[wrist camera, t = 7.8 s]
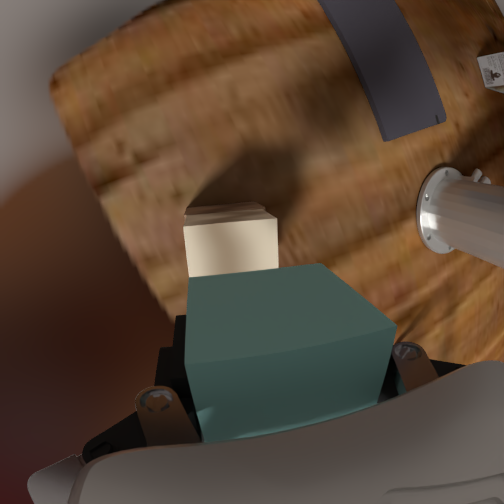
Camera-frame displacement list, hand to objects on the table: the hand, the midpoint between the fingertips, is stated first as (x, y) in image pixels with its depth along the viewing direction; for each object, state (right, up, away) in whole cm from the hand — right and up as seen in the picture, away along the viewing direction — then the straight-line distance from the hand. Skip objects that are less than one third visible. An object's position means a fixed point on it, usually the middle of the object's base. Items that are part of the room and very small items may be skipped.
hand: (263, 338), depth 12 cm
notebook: (+17, +29, +16) cm, 37 cm away
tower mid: (-3, +4, +14) cm, 14 cm away
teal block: (0, 0, +1) cm, 1 cm away
